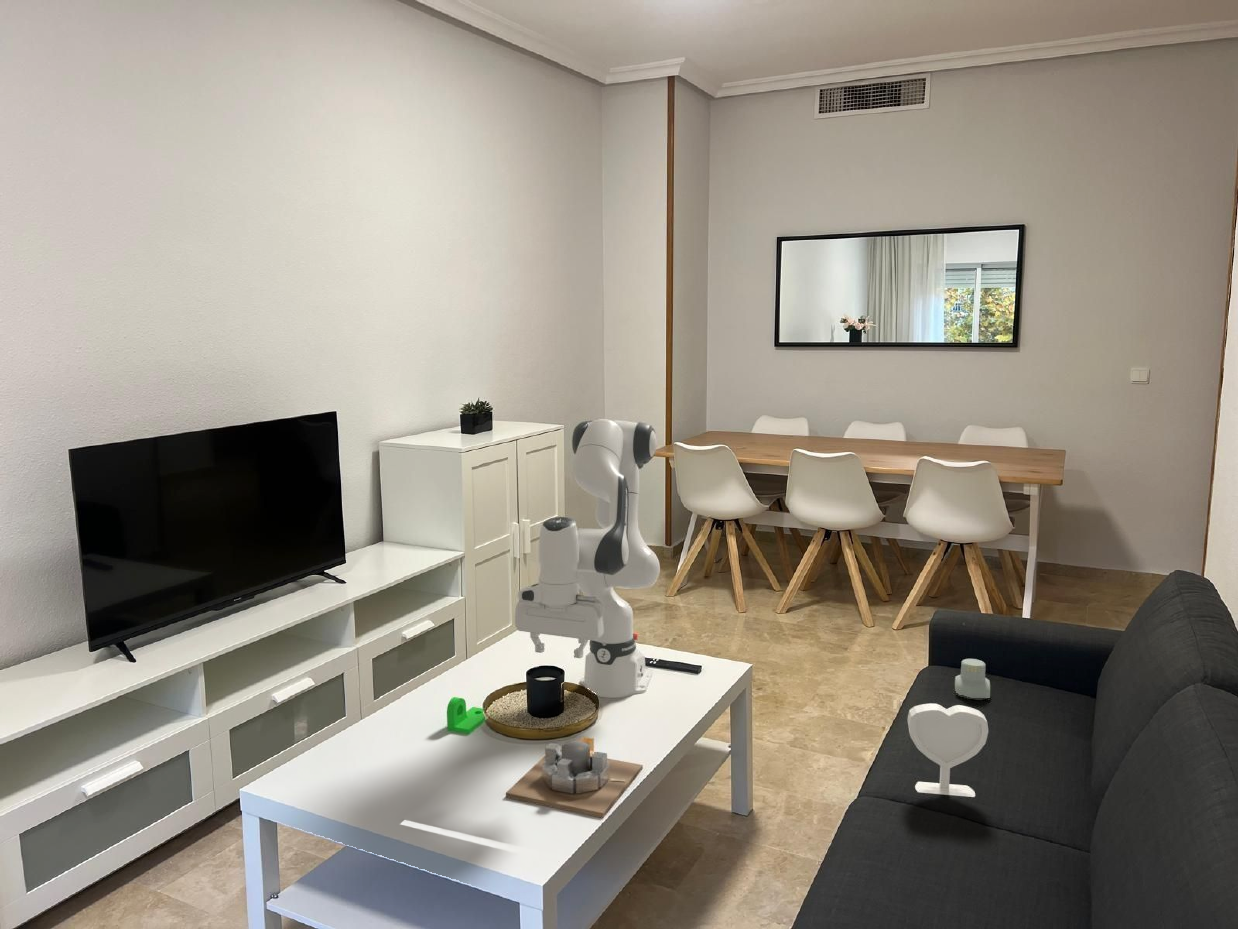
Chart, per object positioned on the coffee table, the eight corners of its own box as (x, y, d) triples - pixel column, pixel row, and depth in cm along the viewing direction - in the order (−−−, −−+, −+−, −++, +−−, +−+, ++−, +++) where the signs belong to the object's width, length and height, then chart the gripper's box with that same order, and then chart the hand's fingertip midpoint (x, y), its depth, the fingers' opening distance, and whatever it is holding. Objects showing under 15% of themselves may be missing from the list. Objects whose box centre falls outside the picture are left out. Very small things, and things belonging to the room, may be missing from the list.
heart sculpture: (907, 792, 193) (910, 710, 190) (904, 780, 198) (907, 700, 195) (985, 798, 190) (990, 715, 187) (980, 786, 195) (985, 705, 192)
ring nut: (561, 758, 206) (561, 732, 205) (617, 768, 201) (617, 742, 200) (533, 785, 194) (532, 758, 193) (592, 797, 188) (592, 770, 188)
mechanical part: (469, 737, 220) (468, 705, 219) (447, 733, 222) (446, 702, 221) (494, 718, 231) (493, 687, 230) (473, 714, 233) (472, 684, 232)
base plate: (552, 752, 212) (552, 719, 210) (642, 769, 203) (642, 734, 202) (505, 797, 191) (504, 761, 190) (603, 818, 183) (603, 780, 182)
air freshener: (954, 689, 247) (955, 653, 246) (987, 693, 245) (989, 657, 243) (955, 705, 237) (957, 667, 236) (989, 709, 234) (992, 671, 233)
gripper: (608, 594, 200) (608, 656, 201) (524, 585, 207) (525, 645, 209) (596, 601, 194) (596, 665, 195) (511, 591, 202) (511, 653, 203)
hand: (559, 654), depth 202 cm, fingers open, 8 cm apart
